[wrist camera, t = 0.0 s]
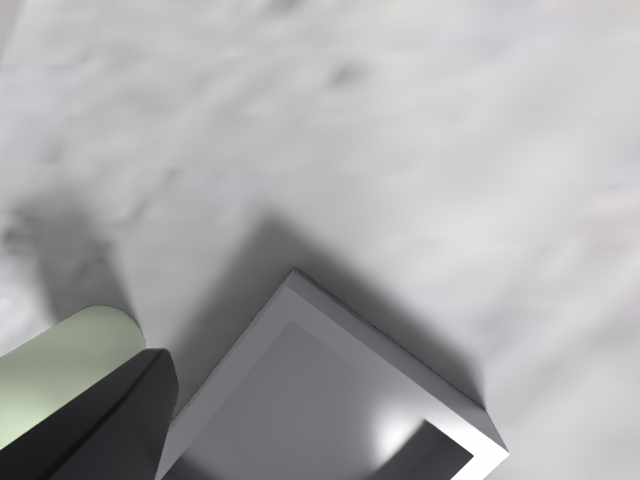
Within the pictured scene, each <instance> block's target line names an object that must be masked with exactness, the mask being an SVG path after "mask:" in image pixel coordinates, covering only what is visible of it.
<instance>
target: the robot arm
mask: <svg viewBox="0 0 640 480" xmlns="http://www.w3.org/2000/svg"><path fill="white" fill-rule="evenodd" d="M177 395H178V380H177V376H176V372H175V369H174V365H173V361H172V358H171V355H170V352H169V351H168V350H167V349H165V348H148V349H144V350H142V351H140V352H139V353H138V354H136V355H135V356H133V357H132V358H130V359H129V360H128V361H126V362H125V363H123V364H122V365H121V366H119V367H118V368H116V369H115V370H113V371H112V372H111V373H109V374H108V375H106V376H105V377H103V378H102V379H101V380H99V381H98V382H96V383H95V384H93V385H92V386H91V387H89V388H88V389H86V390H85V391H83V392H82V393H81V394H79V395H78V396H76V397H75V398H73V399H72V400H71V401H69V402H68V403H66V404H65V405H64V406H62V407H61V408H59V409H58V410H56V411H55V412H54V413H52V414H51V415H49V416H48V417H46V418H45V419H44V420H42V421H41V422H39V423H38V424H36V425H35V426H34V427H32V428H31V429H29V430H28V431H26V432H25V433H24V434H22V435H21V436H19V437H18V438H16V439H15V440H14V441H12V442H11V443H9V444H8V445H7V446H5V447H4V448H2V449H1V450H0V480H155V477H156V473H157V470H158V466H159V463H160V459H161V455H162V452H163V448H164V444H165V441H166V437H167V433H168V429H169V426H170V422H171V418H172V414H173V411H174V407H175V403H176V399H177Z"/></svg>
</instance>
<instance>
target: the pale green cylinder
mask: <svg viewBox="0 0 640 480" xmlns="http://www.w3.org/2000/svg"><path fill="white" fill-rule="evenodd" d="M144 349H146V344H145V339H144V336H143V333H142V331H141V329H140V328H139V326H138V325H137V323H136V322H135V321H134V320H133V319H132V318H131V317H130V316H128V315H127V314H126V313H124V312H123V311H121V310H119V309H116V308H113V307H110V306H104V305H95V306H90V307H87V308H84V309H82V310H80V311H78V312H77V313H75V314H73V315H72V316H70V317H68V318H67V319H65V320H63V321H62V322H60V323H58V324H57V325H55V326H53V327H51V328H50V329H48V330H46V331H45V332H43V333H41V334H40V335H38V336H36V337H35V338H33V339H31V340H30V341H28V342H26V343H24V344H23V345H21V346H19V347H18V348H16V349H14V350H13V351H11V352H9V353H8V354H6V355H4V356H3V357H1V358H0V450H1V449H2V448H4V447H5V446H7V445H8V444H9V443H11V442H12V441H14V440H15V439H16V438H18V437H19V436H21V435H22V434H24V433H25V432H26V431H28V430H29V429H31V428H32V427H34V426H35V425H36V424H38V423H39V422H41V421H42V420H44V419H45V418H46V417H48V416H49V415H51V414H52V413H54V412H55V411H56V410H58V409H59V408H61V407H62V406H64V405H65V404H66V403H68V402H69V401H71V400H72V399H73V398H75V397H76V396H78V395H79V394H81V393H82V392H83V391H85V390H86V389H88V388H89V387H91V386H92V385H93V384H95V383H96V382H98V381H99V380H101V379H102V378H103V377H105V376H106V375H108V374H109V373H111V372H112V371H113V370H115V369H116V368H118V367H119V366H121V365H122V364H123V363H125V362H126V361H128V360H129V359H130V358H132V357H133V356H135V355H136V354H138V353H139V352H140V351H142V350H144Z"/></svg>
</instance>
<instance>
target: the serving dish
mask: <svg viewBox="0 0 640 480" xmlns="http://www.w3.org/2000/svg"><path fill="white" fill-rule="evenodd" d="M509 454H510V453H509V451H508V450H507V448H506V446H505V444H504V442H503V440H502V439H501V437H500V435H499V433H498V431H497V429H496V428H495V426H494V424H493V422H492V420H491V418H490V417H489V415H488V413H487V411H485V410H484V409H483V408H482V407H480V406H479V405H478V404H476V403H475V402H474V401H472V400H471V399H470V398H468V397H467V396H466V395H464V394H463V393H462V392H460V391H459V390H458V389H456V388H455V387H454V386H452V385H451V384H450V383H448V382H447V381H446V380H445V379H443V378H442V377H441V376H439V375H438V374H437V373H435V372H434V371H433V370H431V369H430V368H429V367H427V366H426V365H425V364H423V363H422V362H421V361H419V360H418V359H417V358H415V357H414V356H413V355H412V354H410V353H409V352H408V351H406V350H405V349H404V348H402V347H401V346H400V345H398V344H397V343H396V342H394V341H393V340H392V339H390V338H389V337H388V336H386V335H385V334H384V333H382V332H381V331H380V330H378V329H377V328H376V327H375V326H373V325H372V324H371V323H369V322H368V321H367V320H365V319H364V318H363V317H361V316H360V315H359V314H357V313H356V312H355V311H353V310H352V309H351V308H349V307H348V306H347V305H345V304H344V303H343V302H341V301H340V300H339V299H338V298H336V297H335V296H334V295H332V294H331V293H330V292H328V291H327V290H326V289H324V288H323V287H322V286H320V285H319V284H318V283H316V282H315V281H314V280H312V279H311V278H310V277H308V276H307V275H306V274H305V273H303V272H302V271H301V270H299V269H298V268H297V267H294V268H293V269H292V271H291V272H290V273H289V275H288V276H287V277H286V278H285V280H284V281H283V282H282V283H281V285H280V286H279V287H278V288H277V290H276V291H275V292H274V294H273V295H272V296H271V297H270V299H269V300H268V301H267V302H266V304H265V305H264V306H263V307H262V309H261V310H260V311H259V313H258V314H257V315H256V316H255V318H254V319H253V320H252V321H251V323H250V324H249V325H248V326H247V328H246V329H245V330H244V332H243V333H242V334H241V335H240V337H239V338H238V339H237V340H236V342H235V343H234V344H233V345H232V347H231V348H230V349H229V351H228V352H227V353H226V354H225V356H224V357H223V358H222V359H221V361H220V362H219V363H218V364H217V366H216V367H215V368H214V370H213V371H212V372H211V373H210V375H209V376H208V377H207V378H206V380H205V381H204V382H203V383H202V385H201V386H200V387H199V389H198V390H197V391H196V392H195V394H194V395H193V396H192V397H191V399H190V400H189V401H188V402H187V404H186V405H185V406H184V408H183V409H182V410H181V411H180V413H179V414H178V415H177V416H176V418H175V419H174V420H173V421H172V423H171V424H170V426H169V429H168V433H167V437H166V441H165V444H164V448H163V452H162V455H161V459H160V463H159V466H158V470H157V473H156V477H155V480H483V479H484V478H485V477H486V476H487V475H488V474H489V473H490V472H491V471H492V470H493V469H494V468H495V467H496V466H497V465H498V464H499V463H500V462H501V461H502V460H504V459H505V458H506V457H507V456H508V455H509Z"/></svg>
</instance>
